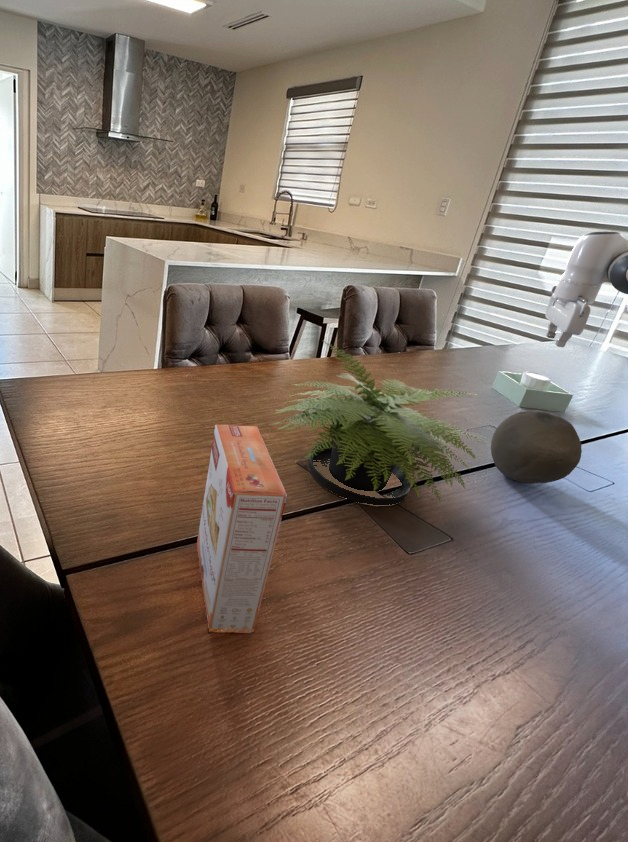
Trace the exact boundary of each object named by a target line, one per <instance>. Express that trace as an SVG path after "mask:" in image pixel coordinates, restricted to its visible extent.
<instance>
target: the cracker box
mask: <svg viewBox="0 0 628 842" xmlns="http://www.w3.org/2000/svg"><path fill="white" fill-rule="evenodd" d="M212 439H213V440H212V445H211V451H210V458H209V465H208V470H207V477H206V483H205V489H204V496H203V502H202V509H201V515H200V519H199V520H200V522H199V527H198V533H197V541H196V546H197V547H196V552H198V553H197V559H198V558H199V561H198V566H200V568H199V574H200V573H201V575H200V581H201V580H202V583H201V588H202V587H203V590H202V595H203V594H204V598H203V602H204V601H205V605H204V608H205V607H206V613H207V619H208V624H209V627H210V628H228V629H229V628H231V629H234V628H235V629H250V630H251V629H254V630H255V628H256V624H257V619H258V617H259V611H260V607H261V603H262V600H263V599H262V598H263V594H264V591H265V587H266V583H267V579H268V575H269V571H270V567H271V564H272V559H273V555H274V550H275V547H276V546H275V545H276V543H277V538H278V535H279V531H280V527H281V523H282V519H283V515H284V511H285V507H286V504H287V503H286V502H287V498H288V494H287V492H286V489H285V487H284V485H283V483H282V481H281V478H280V476H279V474H278V471H277V468H276V466H275V465H274V462H273V460H272V458H271V455H270V453H269V451H268V448H267V446H266V443H265V441H264V439H263V436H262V434H261V432H260V430H259V427H258V426H253V425H232V424H215V425H214V431H213V437H212ZM206 613H205V614H206Z"/></svg>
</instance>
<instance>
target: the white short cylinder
mask: <svg viewBox="0 0 628 842" xmlns="http://www.w3.org/2000/svg"><path fill="white" fill-rule="evenodd" d="M522 374H523V375H522V378H521V381H520V384H521V385H523V386H524V387H526V388H527V389H535V390H543V391H545V390H546V388H547V387H548V385H549V384H550V382H552V379H551V378H550V377H548V376H546V375H543V374H540V373H537V372H532V371H523V372H522Z"/></svg>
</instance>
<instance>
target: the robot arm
mask: <svg viewBox="0 0 628 842" xmlns="http://www.w3.org/2000/svg"><path fill="white" fill-rule="evenodd" d="M604 283H608V284H609V283H610V284H611V285H612V287H613V288H614V289H615V290H616V291H618V292H619V293H622V294H625V295H628V239H627V238H626V237H624V236H623V235H622V233H620V232H619V231H612V230H611V231H607V230H605V231H591V232H587V233H584V234H583V235H581V236H580V237H579V239H578V240H577V241H576V243H575V245H574V246H573V249H572V250H571V252H570V255H569V256H568V259H567V262H566V267H565V271H564V273H563V274H562V275H561V277H560V278H559V280H558V283H556V284H554V285H553V286H552V288H551V291H550V293H551V294H552V295H551V296H550V298H549V301H548V303H547V307H546V310H545V318H546V320H548V321H549V322H548V326H547V331H546V334H545V336H546V338H548V339H555V338H556V335H557V330H558V329H560V330H561V332H560V336H559V337H558V338H557V339H556V341H555V344H554V345H556V347H558V348H565V346H566V344H567V342H568V341H569V340H570V339H571V338H572V336H580V335H581V334H582V333H583V332H584V330H585V328H586V325H587V322H588V320H589V317H590V314H591V311H592V310H591V306H589V304H594V303H595V301H596V298H597V296H598V294H599V292H600V290H601V287H602V285H603V284H604Z"/></svg>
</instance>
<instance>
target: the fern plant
mask: <svg viewBox="0 0 628 842" xmlns="http://www.w3.org/2000/svg"><path fill="white" fill-rule="evenodd" d="M322 342H323V343H324V344H325V345H326V346H328V348H330V347H331V348H330V350H332V354H333V355H334V358H335V359H336V360H338V361H340V362H343V363H339V365H340V367H343V368H344V369H343V370H344V371H346V372H347V373H341V374H340V375H337V374H336V375H335V376H336V377H338V378H341V379H343V380H344V379H345V380H346V381H347V380H349V381H353V382H354V383H355V384H356V385H355V386H352V385H351V386H350V385H347V386H346V385H339V384H336V383H334V382H328V381H326V380H323V381H324V382H323V381H320V380H317V381H312V380H309V381H303V382H299V383H292V385H294V386H297V387H298V386H300V387H301V386H303V387H305V386H307V387H309V386H310V387H311V388H312V389H313V388H316V390H307V391H306V392H303V391H302V392H299V393H296V394H295V396H297V395H299V396H301V395H302V396H304V397H299V399H293V400H292V401H291V400H289V403H292V402H293V403H294V402H295V403H296V404H292V405H288V406H285V407H284V408H282V409H276V414H279V413H284V412H288V411H291V412H292V411H297V412H299V413H300V414H299V413H296V414H293V415H292V417H291V416H288V417H285V419H282V420H279V421H278V422H273V425H277V424H282V422H285V423H287V422H288V423H287V424H284V425H283V426H281V427H278V430H283V429H284V430H285V431H290V430H292V431H294V430H296V431H297V430H298V428H300V429H301V428H302V427H303V428H306V427H308V428H307V431H314V430H317V428H318V429H319V430H321V429H322V430H323V431H324V432H319V431H317V436H319V437H317V438H316V439H313V441H314V442H315V443H316V444H315V443H311V444H310V445H311V446H309V448H311V449H310V450H309V451H308V454H307V455H305V456H304V458H303V459H307V458H308V464H307V468H308V467H309V468H308V470H309V469H310V470H309V472H310V471H311V472H310V474H311V477H312V478H313V479H315V481H316V482H318V484H320V486H321V487H322V488H324V487H325V488H327V489H328V490H327V489H326V490H327V491H329V490H330V491H332V492H333V493H332V492H331V493H332V494H334V493H335V494H337V495H338V496H341V497H344V498H347V499H349V500H352V501H354V502H357V503H358V502H359V503H367V504H373V505H389V504H390V505H392V504H396V503H399V502H402V501H403V502H404V501H405V499H406V498H407V496H408V495H409V492H410V491H411V489H412V488H413V490H414V491H415V493H416V495H417V498H420V492H421V489H420V487H421V486H420V485H418V484H416V483H418V480H419V481H421V480H422V481H423V480H426V481H425V482H424V485H427V489H429V488H430V487H432V488H431V492H432V493H433V495H434V496H436V498H437V500H438V502H439V503H441V499H442V497H441V494H440V493H439V492H440V490H438V489H436V488H437V485H435V486H434V484H435V481H434V480H433V474H432V472H434V473H436V472H437V470H438V475H439V476H440V477H441V478H443V480H444V481H445V483H446V484H447V486H449V485H448V484H450V487H451V488H452V487H453V484H454V478H455V481H456V482H458V483H459V484H460V485H461V486H462V487H463V488H464V490H465V491H466V487H465V486H466V485H465V481H464V479H463V477H462V476H460V475H461V473H458V470H457V469H455V467H454V465H453V464H452V463H451V461H450V460H453V458H454V461H456V462H457V463H461V465H463V466H465V467H466V468H467V469H468V470H469V471H471V469H470V468H469V466H468V465H467V464H466V463H465V462H464V461H463V459H460V458H458V456H457V454H455V453H454V452H453V451H452V450H454V448H453V447H455V448H457V450H459V448H460V449H461V450H462V451H463V452H466V454H469V455H470V456H471V457H472V458H473V459H474V460H476V459H477V457H476V455H475V453H474V452H473V451H472V450H473V449H472V448H469V447H468V445H465V442H464V441H463V440H462V439H461V438H462V437H463V435H464V436H465V437H466V439H470V440H474V441H477V442H479V443H481V444H483V445H485V446H487V444H486V443H484V442H483V441H482V440H480V439H478V438H477V436H475V437H473V434H469V433H467V432H464V431H463V430H462V429H461V428H459V427H457V426H456V425H454V426H450V425H451V423H449V422H444V421H442V420H440V419H438V418H432V417H430V416H431V415H429V414H423V412H422V410H419V411H418V408H416V409H412V407H411V406H413V407H414V406H415V405H419V403H425V402H427V401H431V400H432V399H433V400H437V401H438V400H441V398H447V399H449V398H450V397H458V398H459V396H466V395H468V396H473V395H474V396H477V393H471V392H467V391H465V392H464V391H461V390H460V391H459V390H452V389H451V390H450V389H446V388H443V390H442V391H441V392H440V388H434V389H432V390H431V391H429V389H428V388H425V387H424V388H423V389H421V388H416V387H414V388H413V387H411V386H408V388H407V386H406V383H405V382H403V381H400V380H398V379H389V378H388V379H384V380H379V381H378V383H379V384H380V385H381V387H380V386H379V385H375V384H376V383H375V382H376V381H375V380H376V378H370V376H371V375H372V374H371V372H367V367H365V364H363V365H361V366H360V364H361V363H362V362H361V360H359V359H353V354H350V353H346V351H345V350H344V349H339V347H338V346H336V345H334V346H332V344H331V343H329V342H326V341H325V340H322ZM336 356H338V357H336ZM353 375H354V376H353ZM369 378H370V379H369ZM375 386H377V387H378V388H375ZM382 386H383V387H382ZM325 387H327V388H325ZM379 388H380V389H379ZM322 390H323V391H322ZM354 391H355V392H354ZM356 392H358V393H356ZM307 395H309V396H310V397H308V396H307ZM292 396H293V394H291V395H290V397H292ZM313 396H314V397H313ZM440 397H441V398H440ZM285 403H287V401H285V402H284V404H285ZM412 403H413V404H412ZM414 404H415V405H414ZM404 406H407V407H404ZM409 406H410V407H409ZM426 416H429V417H426ZM289 425H290V427H289ZM327 426H328V427H327ZM449 426H450V427H449ZM320 427H321V428H320ZM440 436H441V438H440ZM450 443H451V444H452V445H453V447H452V446H451V445H450ZM467 447H468V448H467ZM451 449H452V450H451ZM448 457H449V458H448ZM328 459H330V460H328ZM313 460H316V461H313ZM317 460H321V461H320V462H321V464H324V465H322V466H325V467H327V465H325V463H326V464H328V463H330V464H329V471H330V473H331V474H332V476H333V477H334V478H335V479H337V480H338V481H339V482H341V483H343V484H344V485H346V486H348V487H351V488H354V489H357V490H364V491H379V490H382V489H383V488H384V487H385V486H386V484H387V482H388V480H389V478H390V476H391V474H392V473H393V474H394V475H396V477H397V478H398V479H399V480H400V482H401V483H402V487H401V488H399V489H396V490H395V491H392V492H393V494H392V492H390V493H387V496H390V495H392V497H393V496H394V497H395V498H394V497H393V498H375V497H370V496H365V495H360V494H357V493H354V492H352V491H349V490H346V489H344V488H341V487H339V486H338V485H336V484H334V483H333V482H331V481H329V480H328V479H326V478H325V477H324V476H323V475H322V474H321V473H320V472H318V471H317V470H316V469H315V467H314V466H317V465H313V462H319V461H317ZM324 461H325V462H324ZM327 461H330V462H327ZM429 464H431V466H430V465H429ZM421 467H422V468H421ZM423 467H424V468H423ZM426 468H429V469H431V470H428V469H426ZM433 468H434V471H433ZM454 469H455V470H454ZM415 472H417V473H416V476H415ZM416 478H418V479H416ZM416 480H417V481H416ZM325 488H324V489H325ZM330 491H329V492H330ZM335 494H334V495H335ZM337 495H336V496H337ZM338 496H337V497H338ZM341 497H340V498H341ZM405 497H406V498H405ZM344 498H343V499H344ZM349 500H348V501H349ZM354 502H353V503H354ZM403 502H402V503H403ZM399 504H400V503H399Z"/></svg>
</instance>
